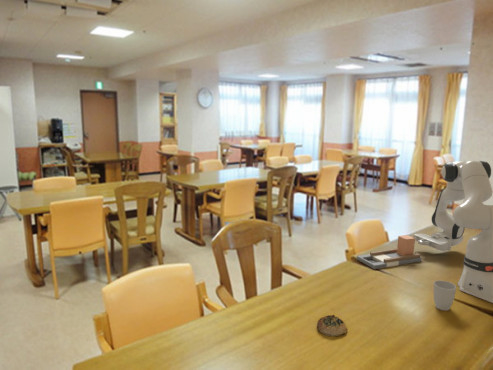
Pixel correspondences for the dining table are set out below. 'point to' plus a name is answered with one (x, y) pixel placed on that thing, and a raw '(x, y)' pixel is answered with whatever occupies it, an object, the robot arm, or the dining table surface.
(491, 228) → the robot arm
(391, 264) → the tray
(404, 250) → the block
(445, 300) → the cup
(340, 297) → the dining table surface
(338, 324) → the bread roll
